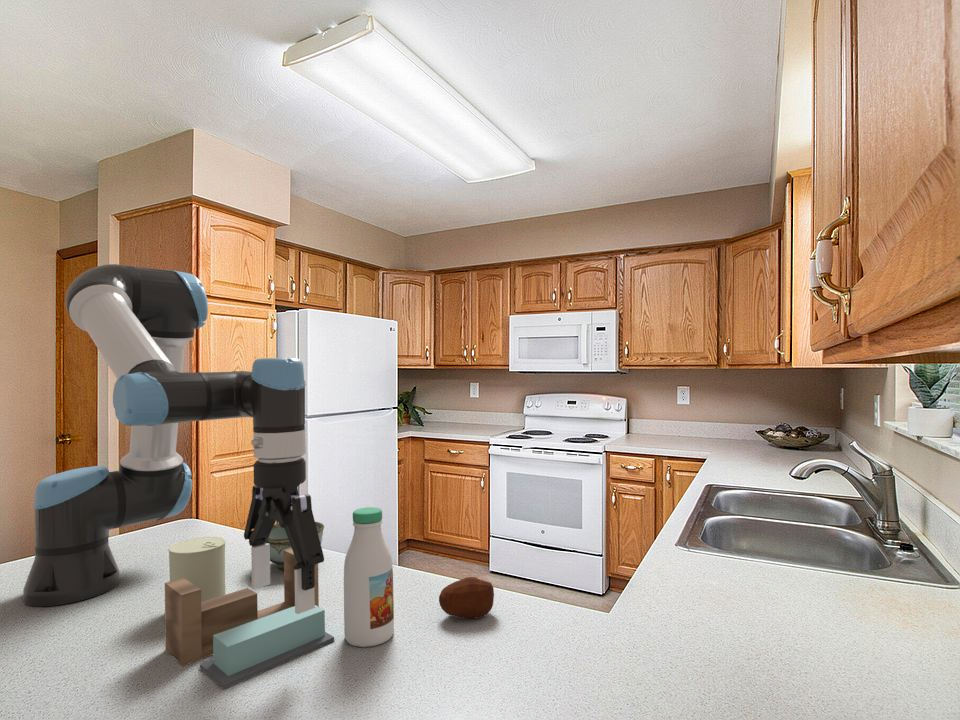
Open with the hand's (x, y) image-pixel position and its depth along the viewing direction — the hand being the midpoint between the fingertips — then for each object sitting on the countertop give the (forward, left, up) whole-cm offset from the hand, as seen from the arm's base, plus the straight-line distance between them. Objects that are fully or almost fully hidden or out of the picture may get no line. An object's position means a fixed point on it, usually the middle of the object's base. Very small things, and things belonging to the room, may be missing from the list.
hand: (281, 597), depth 84 cm
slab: (0, -2, -7) cm, 7 cm away
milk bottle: (+7, +11, -8) cm, 15 cm away
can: (-25, -3, -8) cm, 26 cm away
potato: (+14, +26, -8) cm, 31 cm away
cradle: (-10, 0, -8) cm, 13 cm away
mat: (0, -2, -8) cm, 8 cm away
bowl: (-32, +19, -8) cm, 38 cm away
